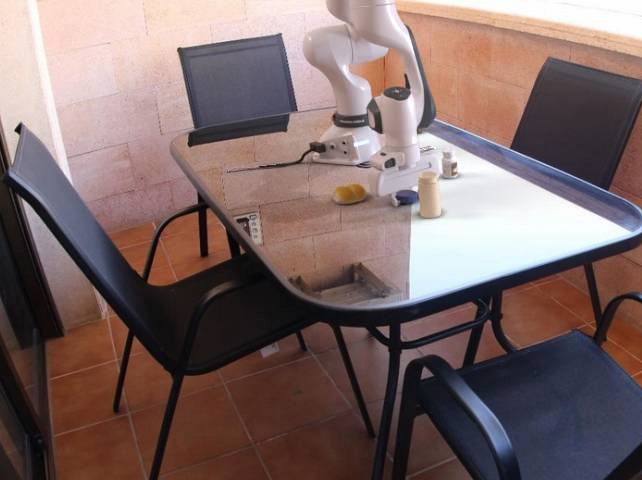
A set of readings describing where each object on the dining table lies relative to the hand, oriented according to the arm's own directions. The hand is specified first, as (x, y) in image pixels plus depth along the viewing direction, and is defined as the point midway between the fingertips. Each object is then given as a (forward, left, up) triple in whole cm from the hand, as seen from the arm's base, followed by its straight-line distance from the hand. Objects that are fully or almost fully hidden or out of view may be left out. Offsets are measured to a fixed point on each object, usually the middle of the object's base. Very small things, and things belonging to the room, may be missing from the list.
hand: (408, 202), depth 179 cm
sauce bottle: (-12, +60, 0) cm, 61 cm away
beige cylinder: (+8, -8, 0) cm, 11 cm away
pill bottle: (+8, +19, 0) cm, 20 cm away
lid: (0, +1, +2) cm, 2 cm away
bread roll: (-17, +1, 0) cm, 17 cm away
